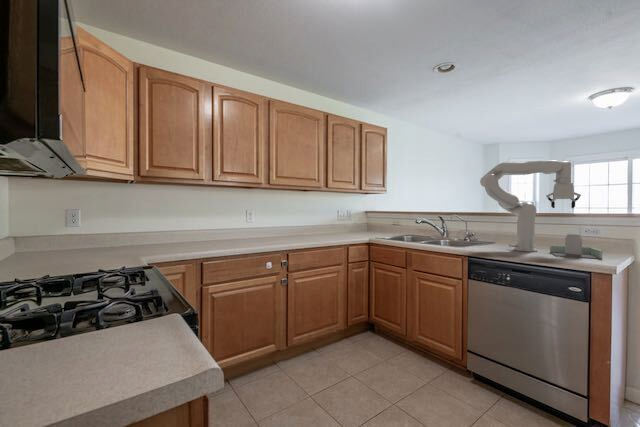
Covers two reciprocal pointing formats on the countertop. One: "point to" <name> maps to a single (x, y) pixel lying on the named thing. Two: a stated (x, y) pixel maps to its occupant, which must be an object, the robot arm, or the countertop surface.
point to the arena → (586, 253)
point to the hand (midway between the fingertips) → (562, 208)
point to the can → (573, 244)
